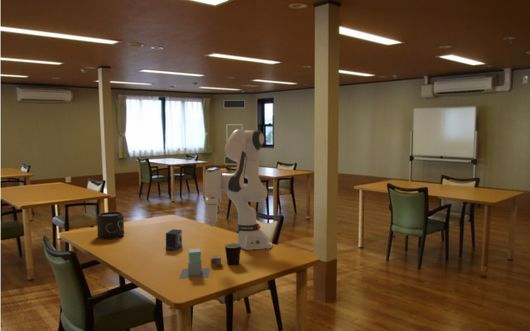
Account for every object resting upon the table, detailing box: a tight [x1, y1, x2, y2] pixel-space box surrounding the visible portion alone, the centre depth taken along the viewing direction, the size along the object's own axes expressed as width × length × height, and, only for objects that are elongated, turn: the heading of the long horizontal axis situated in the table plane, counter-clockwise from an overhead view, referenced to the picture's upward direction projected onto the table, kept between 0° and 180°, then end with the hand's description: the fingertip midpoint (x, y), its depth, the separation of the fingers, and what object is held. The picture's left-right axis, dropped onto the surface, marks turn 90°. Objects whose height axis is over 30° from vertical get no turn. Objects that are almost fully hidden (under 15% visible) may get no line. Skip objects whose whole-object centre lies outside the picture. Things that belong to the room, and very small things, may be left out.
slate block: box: [187, 261, 203, 275], centre depth 200 cm, size 6×6×6 cm
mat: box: [178, 267, 211, 280], centre depth 200 cm, size 14×14×1 cm
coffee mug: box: [224, 242, 242, 266], centre depth 216 cm, size 12×9×10 cm
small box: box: [165, 229, 183, 251], centre depth 245 cm, size 11×6×10 cm, turn 168°
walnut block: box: [210, 254, 222, 268], centre depth 212 cm, size 5×5×5 cm
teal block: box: [188, 248, 202, 264], centre depth 200 cm, size 6×6×6 cm
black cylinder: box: [96, 211, 125, 240], centre depth 274 cm, size 18×18×16 cm
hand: (213, 224), depth 212 cm, fingers open, 8 cm apart
